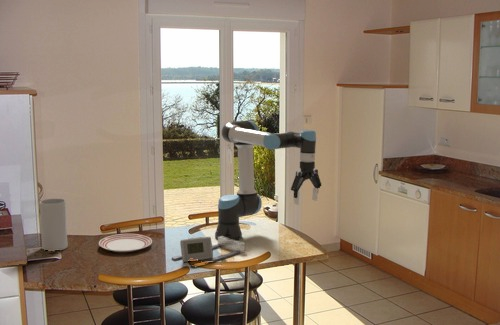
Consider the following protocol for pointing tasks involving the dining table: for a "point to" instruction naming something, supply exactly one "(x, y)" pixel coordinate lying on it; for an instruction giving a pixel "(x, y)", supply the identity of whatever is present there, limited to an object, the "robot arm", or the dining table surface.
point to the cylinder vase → (53, 224)
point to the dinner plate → (125, 242)
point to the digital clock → (196, 248)
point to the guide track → (224, 243)
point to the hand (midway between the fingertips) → (305, 202)
